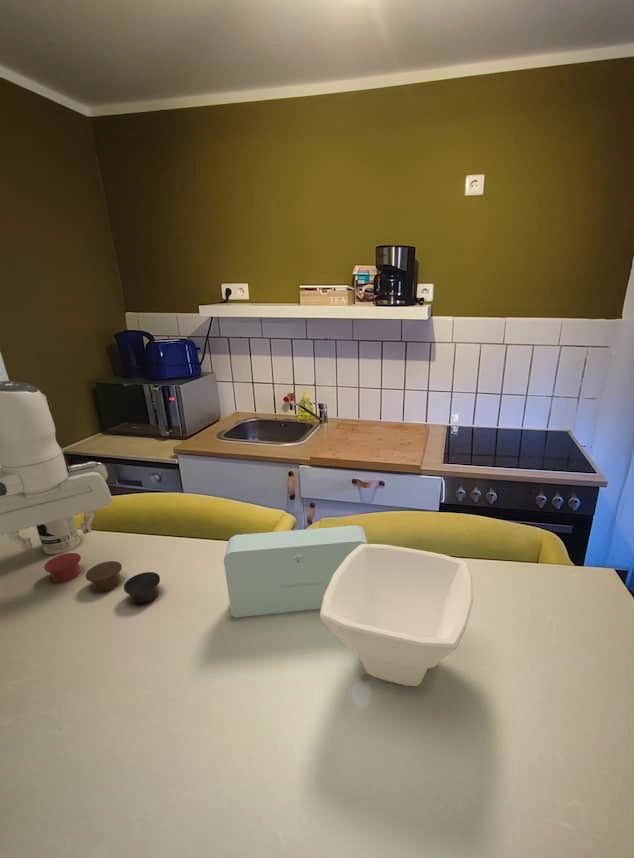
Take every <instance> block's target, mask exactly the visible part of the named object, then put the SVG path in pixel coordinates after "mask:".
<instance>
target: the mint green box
mask: <svg viewBox="0 0 634 858" xmlns="http://www.w3.org/2000/svg"><path fill="white" fill-rule="evenodd" d="M360 544H369V543H368V539H367V536H366V533H365V529H364V528H363V527H362V526H360V525H356V524H355V525H343V526H331V527H319V528H306V529H296V530H295V529H292V530H282V531H281V530H280V531H271V532H270V531H268V532H260V533H259V532H255V533H243V534H235V535H233V536H231V537H230V538H229V540H228V543H227V546H226V550H225V554H224V558H223V566H224V573H225V580H226V586H227V594H228V599H229V601H228V602H229V608H230V613H231V615H232V617H233V618H244V617H253V616H263V615H272V614H281V613H282V614H283V613H291V612H292V613H293V612H300V611H308V610H321V607H322V602H323V597H324V594H325V592H326V590H327V588H328V585H329V583H330V581H331V579H332V577H333V574H334V573H335V572H336V570H337V569H338V568H339V566H340V565H341V564H342V562H343V561H344V560H345V558H346V557H347V556H348V555H349V554H350V553H351V552H352V551H354V550H355V549H356V548H357V547H358V546H359V545H360Z"/></svg>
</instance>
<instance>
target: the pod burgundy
mask: <svg viewBox="0 0 634 858" xmlns="http://www.w3.org/2000/svg"><path fill="white" fill-rule="evenodd" d="M81 558H82V557H81V555H80V554H79V553H77V552H68V553H67V552H65V553H61V554H59V555H57V556H54V557H52V558H51V559H49V560H47V562H45V564H44V566H43V567H44V570H45V572H47V573H50V577H51V580H52V582H54V583H59V584H60V583H61V584H62V583H65V582H69V581H72V580H73V579H75V578H77V577H78V576H79V575H80V574H81V568H80V564H79V563H80V561H81Z"/></svg>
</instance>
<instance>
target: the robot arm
mask: <svg viewBox="0 0 634 858" xmlns="http://www.w3.org/2000/svg"><path fill="white" fill-rule="evenodd" d="M108 478H109V474H108V469H107V467H106V466H105V464H104V463H101V462H96V461H95V460H94V461H93V460H92V461H87V462H85V463H76V464H72V465H67V464H66V460H65V456H64V453H63V450H62V448H61V446H60V445H59V443H58V441H57V438H56V426H55V423H54V419H53V416H52V413H51V411H50V407H49V405H48V403H47V401H46V399H45V397H44V395H43V393H42V392H41V390H40V389H39V388H38V387H36V386H35V385H33V384H30V383H27V382H23V381H18V380H17V381H15V380H3V381H1V380H0V536H3V535H6V536H7V537H8V539H9V540H10V541H12V542H14V543H15V544H17V545H19V547H20V549H21V552H22V553H24V552H27V551H31V550H33V543H32V540H31V537H27V538H24V537H22V536H21V535H20V534H19V533H20V532H19V531H22V530H26V529H31V528H33V527H36V526H38V525H41V524H45V523H49V522H53V521H56V520H60V519H64V518H68V517H71V516H73V517H75V516H78V515H82V514H84V515H85V517H86V518H85V520H84V522H81V523H80V527H81V530H82V534H83V535H86V534H90V533H92V532H93V529H92V526H91V524H92V522H93V520H94V517H95V512H94V511H97V510H101V509H105V508H108V507H110V506H111V504H112V503H113V500H114V499H113V497H112V494H111V491H110V488H109V486H108V484H107V482H106V481H107V479H108Z"/></svg>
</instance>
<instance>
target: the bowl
mask: <svg viewBox="0 0 634 858" xmlns="http://www.w3.org/2000/svg"><path fill="white" fill-rule="evenodd" d="M473 595H474V593H473V577H472V574H471V569H470V567H469V564H468V562H467V561H465V560H462V559H459V558H456V557H453V556H449V555H447V554H443V553H437V552H432V551H426V550H421V549H417V548H416V549H415V548H410V547H409V548H408V547H402V546H396V545H390V544H384V543H383V544H382V543H381V544H380V543H377V544H376V543H368V544H360V545H359V546H358V547H357V548H356V549H355V550H354V551H352V552H351V553H350V554H349V555H348V556H347V557H346V558H345V560H344V561H343V562H342V564H341V565H340V566H339V568H338V569H337V570H336V572H335V573H334V574H333V577H332V579H331V581H330V583H329V585H328V588H327V590H326V592H325V594H324V597H323V602H322V607H321V609H320V613H319V619H320V620H321V621H322V622H323V623H324V624H325V626H327V628H328V629H330V631H332V632H333V634H334V635H335V636H336V637H337V638H338V639H339V640H340V641H341V642H342V643H343V644H344V645H345V646H346V647H347V648H348V649H351V650H352V651H354V652H357V654H358V656H359V659H360V661H361V663H362V666H363V668H364V670H365V673H366V674H368V675H370V676H372V677H374V678H376V679H379V680H383V681H387V682H390V683H394V684H398V685H402V686H405V687H408V686H409V687H418V686H420V684H421V683H422V681H423V679H424V678H425V676H426V673H427V671H428V669H432V668H435V667H436V666H437V665H438V664H439V663H440V662H442V661H443V660H444V659H445V658H447V657H448V656H449V655H450V654H452V653H453V652H454V651H455V650H456V649H457V648H458V646H459V643H460V642H461V640H462V637H463V636H464V634H465V632H466V631H467V627H468V624H469V619H470V615H471V612H472V607H473V602H474V596H473Z"/></svg>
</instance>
